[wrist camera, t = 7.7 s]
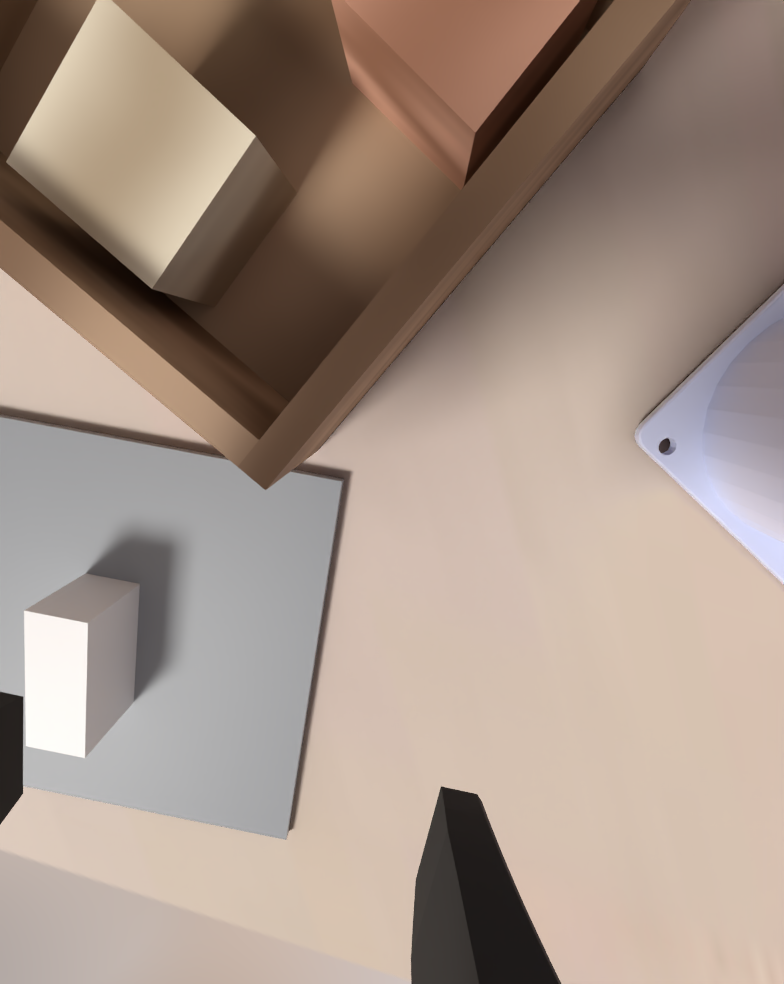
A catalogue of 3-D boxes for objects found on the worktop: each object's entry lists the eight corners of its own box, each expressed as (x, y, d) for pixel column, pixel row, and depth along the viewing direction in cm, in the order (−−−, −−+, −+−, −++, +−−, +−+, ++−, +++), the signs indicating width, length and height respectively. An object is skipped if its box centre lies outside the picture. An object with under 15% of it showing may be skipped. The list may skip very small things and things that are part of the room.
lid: (346, 475, 17) (325, 504, 14) (292, 818, 21) (264, 913, 17) (-74, 395, 17) (-207, 403, 14) (-52, 748, 21) (-152, 827, 18)
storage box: (642, 67, 13) (788, -135, 8) (317, 451, 16) (265, 490, 11) (233, -376, 12) (74, -997, 6) (-40, 142, 15) (-302, 15, 9)
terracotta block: (570, 58, 13) (623, -55, 9) (462, 191, 14) (474, 132, 10) (455, -63, 12) (467, -228, 9) (352, 83, 13) (327, -17, 10)
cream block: (297, 192, 14) (255, 135, 10) (214, 307, 15) (151, 288, 11) (183, 86, 13) (101, -9, 10) (105, 211, 14) (5, 161, 11)
